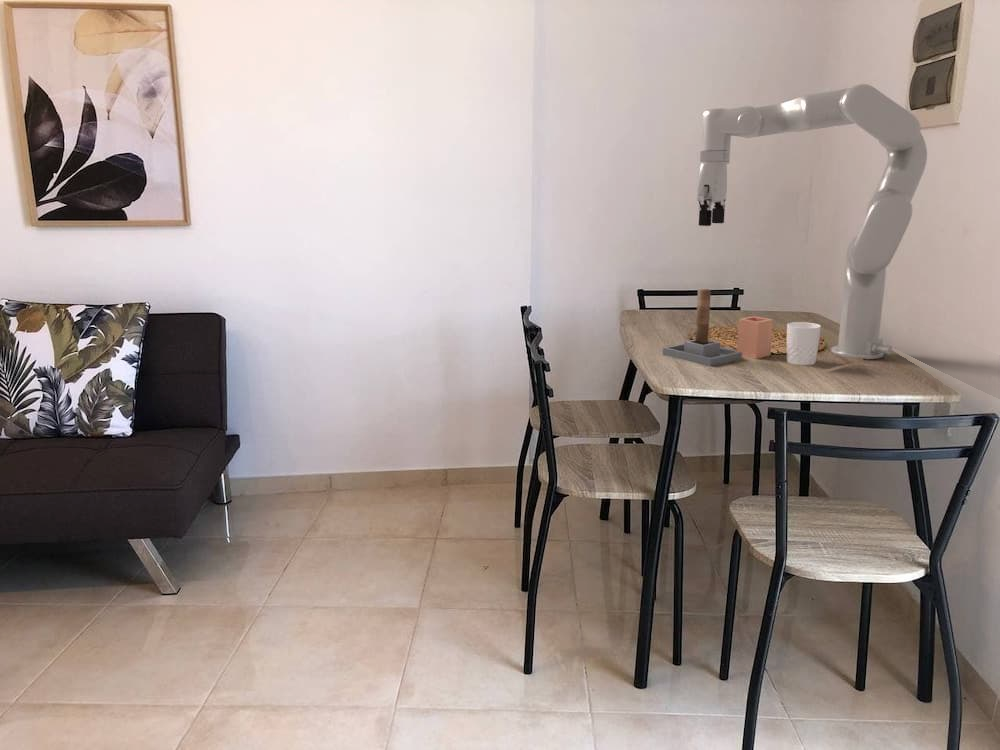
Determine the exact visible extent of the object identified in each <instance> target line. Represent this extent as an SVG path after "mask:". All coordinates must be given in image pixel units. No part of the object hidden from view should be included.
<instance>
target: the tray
mask: <svg viewBox="0 0 1000 750" xmlns="http://www.w3.org/2000/svg"><path fill="white" fill-rule="evenodd" d="M683 342H684V343H681V344H680V343H679V344H674V345H671V346H665V347H662V355H663V356H667V357H670V358H674V359H679V360H683V361H687V362H690V363H695V364H700V365H704V366H706V367H707V366H708V367H713V366H718V365H723V364H726V363H731V362H732V363H733V362H736V361H739V360H742V359H743V356H742V352H740V351H737V350H735V349H729V348H726V347H721V342H720V341H715V340H711V339H708V344H705V345H701V344H697V343H695V339H692V340H691V339H690V340H686V341H683Z"/></svg>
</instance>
